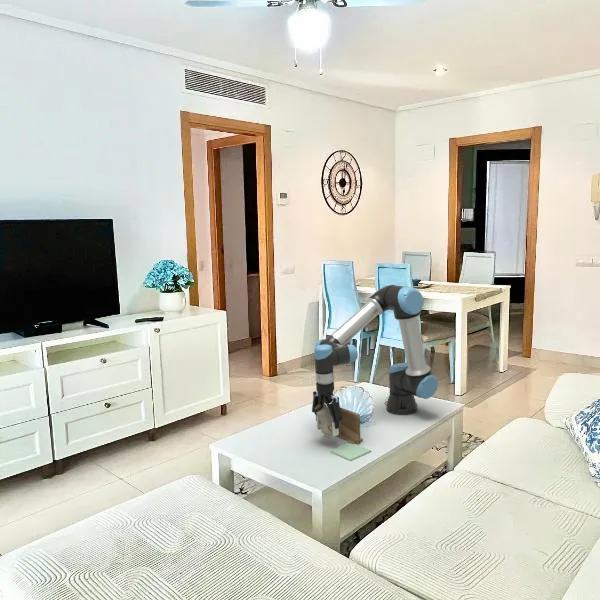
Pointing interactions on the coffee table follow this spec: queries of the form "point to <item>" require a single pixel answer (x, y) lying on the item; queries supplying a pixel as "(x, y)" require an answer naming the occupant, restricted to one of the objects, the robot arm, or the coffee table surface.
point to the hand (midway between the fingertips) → (327, 432)
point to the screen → (350, 427)
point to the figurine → (324, 420)
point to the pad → (350, 451)
